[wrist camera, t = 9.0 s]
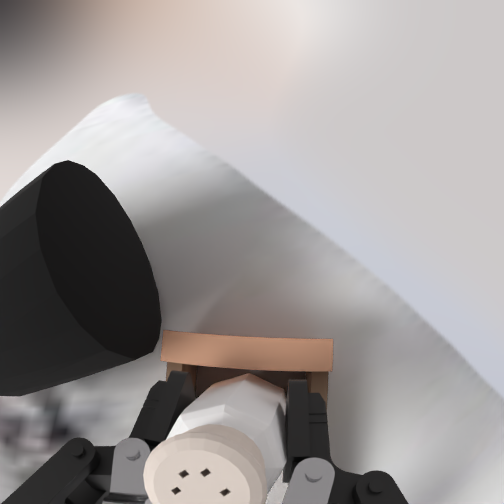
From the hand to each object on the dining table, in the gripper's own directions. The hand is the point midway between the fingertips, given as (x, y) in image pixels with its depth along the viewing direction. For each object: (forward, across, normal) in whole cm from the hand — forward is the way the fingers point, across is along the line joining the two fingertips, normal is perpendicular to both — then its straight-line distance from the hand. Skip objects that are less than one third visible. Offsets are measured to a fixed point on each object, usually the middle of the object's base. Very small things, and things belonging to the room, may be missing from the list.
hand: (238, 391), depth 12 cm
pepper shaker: (+2, 0, +5) cm, 5 cm away
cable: (+3, +22, +5) cm, 23 cm away
